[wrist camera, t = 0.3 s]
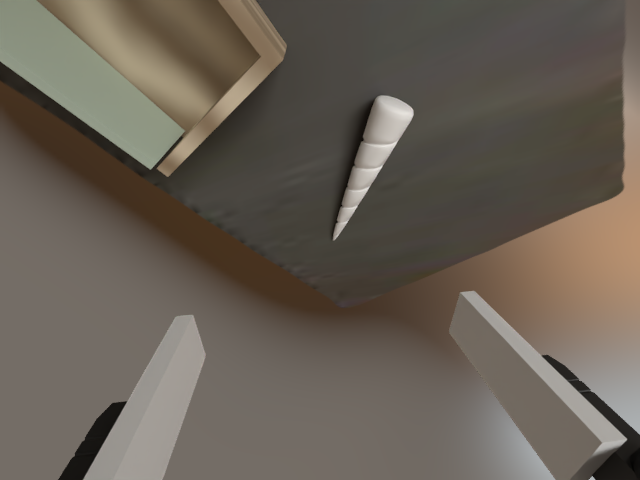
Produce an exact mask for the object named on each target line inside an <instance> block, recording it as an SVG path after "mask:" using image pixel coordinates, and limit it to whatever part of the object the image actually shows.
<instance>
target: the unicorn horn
mask: <svg viewBox="0 0 640 480" xmlns="http://www.w3.org/2000/svg"><path fill="white" fill-rule="evenodd" d="M412 117H413V109H412V108H411V107H410V106H409V105H407V104H406V103H404V102H403V101H401V100H399V99H396V98H393V97H390V96H383V95H381V96H378V97H376V99H375V101H374V103H373V106H372V109H371V112H370V115H369V118H368V122H367V125H366V128H365V131H364V134H363V138H364V140H363V141H361V143H360V146H359V149H358V152H357V155H356V158H355V161H354V164H355V166H353V167H352V171H351V174H350V178H349V181H348V184H347V185H348V187H347V188H346V190H345V193H344V197H343V200H342V205H343V206H341V207H340V210H339V214H338V218H337V221H338V223H336V225H335V229H334V233H333V236H334V237H333V240H335V239H336V238H337V236H338V235H339V234H340V232H341V231H342V230H343V228H344V227H345V225H346V224H347V222H348V220H349V219H350V217H351V216H352V214H353V213H354V211H355V210H356V208H357V206H358V204H359V203H360V202H361V200H362V199H363V197H364V195H365V194H366V192H367V191H368V189H369V187H370V185H371V184H372V183H373V181H374V179H375V178H376V176H377V174H378V173H379V171H380V170H381V168H382V166H383V164H384V163H385V162H386V160H387V158H388V157H389V155H390V153H391V152H392V150H393V149H394V147H395V145H396V144H397V141H398V140H399V139H400V137H401V136H402V134H403V132H404V131H405V129H406V128H407V126H408V124H409V123H410V121H411V119H412Z"/></svg>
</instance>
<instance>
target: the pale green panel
mask: <svg viewBox="0 0 640 480" xmlns="http://www.w3.org/2000/svg"><path fill="white" fill-rule="evenodd" d="M0 62H2V63H3V64H5V65H6V66H7V67H9V68H10V69H11V70H13V71H14V72H16V73H17V74H18V75H20V76H21V77H23V78H24V79H25V80H27V81H28V82H30V83H31V84H32V85H34V86H35V87H36V88H38V89H39V90H41V91H42V92H43V93H45V94H46V95H48V96H49V97H50V98H52V99H53V100H54V101H56V102H57V103H59V104H60V105H61V106H63V107H64V108H66V109H67V110H68V111H70V112H71V113H72V114H74V115H75V116H77V117H78V118H79V119H81V120H82V121H84V122H85V123H86V124H88V125H89V126H91V127H92V128H93V129H95V130H96V131H97V132H99V133H100V134H102V135H103V136H104V137H106V138H107V139H109V140H110V141H111V142H113V143H114V144H115V145H117V146H118V147H120V148H121V149H122V150H124V151H125V152H127V153H128V154H129V155H131V156H132V157H133V158H135V159H136V160H138V161H139V162H140V163H142V164H143V165H145V166H146V167H147V168H149V169H150V170H151V169H152V168H153V167H154V165H155V164H156V163H157V162H158V161H159V160H160V159H161V158H162V157H163V155H164V154H165V153H166V152H167V151H168V150H169V149H170V148H171V146H172V145H173V144H174V143H175V142H176V141H177V140H178V139H179V137H180V136H181V135H182V134H183V133H184V132H185V130H184V129H182V128H181V127H180V126H179V125H178V124H177V123H176V122H175V121H173V120H172V119H171V118H170V117H169V116H168V115H167V114H165V113H164V112H163V111H162V110H161V109H160V108H159V107H157V106H156V105H155V104H154V103H153V102H152V101H151V100H149V99H148V98H147V97H146V96H145V95H144V94H143V93H141V92H140V91H139V90H138V89H137V88H136V87H135V86H134V85H132V84H131V83H130V82H129V81H128V80H127V79H126V78H124V77H123V76H122V75H121V74H120V73H119V72H118V71H116V70H115V69H114V68H113V67H112V66H111V65H110V64H108V63H107V62H106V61H105V60H104V59H103V58H102V57H100V56H99V55H98V54H97V53H96V52H95V51H94V50H93V49H91V48H90V47H89V46H88V45H87V44H86V43H85V42H83V41H82V40H81V39H80V38H79V37H78V36H77V35H75V34H74V33H73V32H72V31H71V30H70V29H69V28H67V27H66V26H65V25H64V24H63V23H62V22H61V21H59V20H58V19H57V18H56V17H55V16H54V15H53V14H52V13H50V12H49V11H48V10H47V9H46V8H45V7H44V6H42V5H41V4H40V3H39V2H38V1H37V0H0Z"/></svg>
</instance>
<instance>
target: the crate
mask: <svg viewBox="0 0 640 480" xmlns="http://www.w3.org/2000/svg"><path fill="white" fill-rule="evenodd" d="M37 1H38V2H39V3H40V4H41V5H42V6H44V7H45V8H46V9H47V10H48V11H49V12H50V13H52V14H53V15H54V16H55V17H56V18H57V19H58V20H59V21H61V22H62V23H63V24H64V25H65V26H66V27H67V28H69V29H70V30H71V31H72V32H73V33H74V34H75V35H77V36H78V37H79V38H80V39H81V40H82V41H83V42H85V43H86V44H87V45H88V46H89V47H90V48H91V49H93V50H94V51H95V52H96V53H97V54H98V55H99V56H100V57H102V58H103V59H104V60H105V61H106V62H107V63H108V64H110V65H111V66H112V67H113V68H114V69H115V70H116V71H118V72H119V73H120V74H121V75H122V76H123V77H124V78H126V79H127V80H128V81H129V82H130V83H131V84H132V85H134V86H135V87H136V88H137V89H138V90H139V91H140V92H141V93H143V94H144V95H145V96H146V97H147V98H148V99H149V100H151V101H152V102H153V103H154V104H155V105H156V106H157V107H159V108H160V109H161V110H162V111H163V112H164V113H165V114H167V115H168V116H169V117H170V118H171V119H172V120H173V121H175V122H176V123H177V124H178V125H179V126H180V127H181V128H182V129H184V130H185V132H184V133H183V134H182V135H181V136H182V137H183V138H182V140H181V141H180V142H179V143H178V144H177V145H176V147H175V148H174V149H173V150H172V151H171V152H170V153H169V155H168V156H167V157H166V158H165V159H164V160H163V162H162V163H161V164H160V165H159V166H158V167H157V169H158V170H159V171H161V172H162V173H163V174H165V175H166V176H167V177H168V176H169V175H170V174H171V173H172V172H173V171H174V170H175V169H176V168H177V167H178V166H179V165H180V164H181V163H182V162H183V161H184V160H185V159H186V158H187V157H188V156H189V155H190V154H191V153H192V152H193V151H194V150H195V149H196V148H197V147H198V146H199V145H200V144H201V143H202V142H203V141H204V140H205V139H206V138H207V137H208V136H209V135H210V134H211V133H212V132H213V131H214V130H215V129H216V128H217V127H218V126H219V125H220V124H221V123H222V121H223V120H224V119H225V118H226V117H227V116H228V115H229V114H230V113H231V112H232V111H233V110H234V109H235V108H236V107H237V106H238V105H239V104H240V103H241V102H242V101H243V100H244V99H245V98H246V97H247V96H248V95H249V94H250V93H251V92H252V91H253V90H254V89H255V88H256V87H257V86H258V85H259V84H260V83H261V82H262V81H263V80H264V79H265V78H266V77H267V76H268V75H269V74H270V73H271V72H272V71H273V70H274V69H275V68H276V67H277V66H278V65H279V64H280V63H281V62H282V61H283V58H284V55H285V51H286V48H287V45H286V44H285V42H284V41H283V39H282V38H281V36H280V35H279V33H278V32H277V31H276V29H275V28H274V26H273V25H272V23H271V22H270V20H269V19H268V17H267V16H266V15H265V13H264V12H263V10H262V9H261V7H260V6H259V4H258V3H257V2H256V0H37Z"/></svg>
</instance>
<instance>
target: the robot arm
mask: <svg viewBox="0 0 640 480" xmlns="http://www.w3.org/2000/svg"><path fill="white" fill-rule="evenodd" d="M449 333H450V334H451V335H452V337H453V338H454V340H455V341H456V342H457V344H458V345H459V347H460V348H461V349H462V351H463V352H464V354H465V355H466V356H467V358H468V359H469V361H470V362H471V363H472V364H473V366H474V367H475V369H476V370H477V372H478V373H479V374H480V376H481V377H482V378H483V380H484V381H485V383H486V384H487V385H488V387H489V388H490V390H491V391H492V392H493V394H494V395H495V396H496V398H497V399H498V401H499V402H500V403H501V405H502V406H503V408H504V409H505V410H506V412H507V413H508V414H509V416H510V417H511V418H512V420H513V421H514V423H515V424H516V426H517V427H518V428H519V430H520V431H521V432H522V434H523V435H524V437H525V438H526V439H527V441H528V442H529V443H530V445H531V446H532V448H533V449H534V450H535V451H536V453H537V455H538V456H539V457H540V459H541V460H542V461H543V463H544V464H545V466H546V467H547V468H548V470H549V471H550V473H551V474H552V475H553V477H554V478H555V479H556V480H589V479H590V478H591V477H592V476H593V477H594V478H595V480H640V435H639V434H638V433H637V432H636V431H635V430H634V429H633V428H632V427H630V426H629V425H628V424H627V423H626V422H625V421H624V420H623V419H622V418H621V417H620V416H618V414H617V413H615V412H614V411H613V410H612V409H611V408H610V407H609V406H608V405H607V404H606V403H605V402H604V401H602V400H601V399H600V398H599V397H598V396H597V395H596V394H595V393H593V392H591V391H590V389H589V388H588V387H587V386H586V385H585V384H584V383H583V382H582V381H579V379H578V378H577V377H576V376H575V375H574V374H573V373H572V372H571V371H570V370H569V369H568V368H567V367H566V366H564V365H563V364H561V363H560V362H558V361H557V360H555V359H553V358H552V357H550V356H549V355H542V356H541V355H540V354H539V353H538V352H537V351H536V350H535V349H533V347H532V346H530V345H529V344H528V343H527V342H526V341H525V340H524V339H523V338H522V337H521V336H520V335H519V334H518V333H517V332H516V331H515V330H514V329H513V328H512V327H511V326H510V325H509V324H508V323H507V322H506V321H505V320H504V319H503V318H502V317H501V316H500V315H498V314H497V313H496V312H495V311H494V310H493V309H492V308H491V307H490V306H489V305H488V304H487V303H486V302H485V301H484V300H483V299H482V298H481V297H480V296H479V295H478V294H477V293H476V292H475V291H470V292H460V295H459V299H458V302H457V305H456V309H455V312H454V316H453V320H452V323H451V326H450V330H449ZM205 357H206V354H205V351H204V348H203V345H202V342H201V338H200V335H199V332H198V329H197V326H196V323H195V320H194V316H193V315H184V316H176V317H175V319H174V321H173V322H172V324H171V326H170V327H169V329H168V331H167V333H166V334H165V336H164V338H163V340H162V342H161V343H160V345H159V347H158V348H157V350H156V352H155V354H154V355H153V357H152V359H151V361H150V363H149V364H148V366H147V368H146V370H145V371H144V373H143V375H142V377H141V379H140V380H139V382H138V384H137V385H136V387H135V389H134V391H133V393H132V394H131V396H130V398H129V400H128V401H127V402H118V403H112V404H111V405H110V406H109V407H108V408H107V409H106V410H105V411H104V412H103V413H102V414H101V415H100V416H99V417H98V418H97V419H96V421H95V423H94V425H93V426H92V428H91V429H90V431H89V432H88V434H87V435H86V437H85V440H84V441H83V442H82V443H81V445H80V446H79V448H78V449H77V451H76V452H75V456H74V457H73V458H72V459H71V460H70V462H69V464H68V465H67V467H66V468H65V470H64V471H63V473H62V475H61V476H60V478H59V479H58V480H162V479H163V476H164V474H165V471H166V468H167V465H168V462H169V459H170V457H171V454H172V451H173V448H174V445H175V442H176V439H177V437H178V434H179V431H180V428H181V425H182V422H183V420H184V417H185V414H186V411H187V408H188V405H189V402H190V399H191V397H192V394H193V391H194V388H195V385H196V382H197V380H198V377H199V374H200V371H201V368H202V365H203V363H204V360H205Z"/></svg>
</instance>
